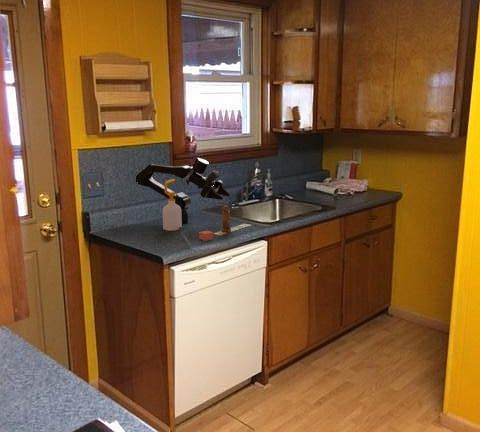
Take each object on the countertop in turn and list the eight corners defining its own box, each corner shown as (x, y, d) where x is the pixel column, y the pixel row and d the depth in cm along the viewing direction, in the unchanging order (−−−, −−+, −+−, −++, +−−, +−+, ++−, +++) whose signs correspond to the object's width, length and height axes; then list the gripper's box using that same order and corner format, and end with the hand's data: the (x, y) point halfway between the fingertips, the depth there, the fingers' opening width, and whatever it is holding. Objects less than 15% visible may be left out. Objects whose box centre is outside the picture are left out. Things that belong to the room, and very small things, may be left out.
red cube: (204, 243, 231) (204, 234, 230) (199, 241, 234) (199, 231, 233) (213, 242, 233) (213, 232, 232) (207, 240, 237) (207, 230, 236)
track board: (224, 239, 238) (224, 236, 237) (206, 235, 244) (206, 232, 244) (257, 228, 258) (257, 225, 258) (240, 225, 264) (240, 222, 264)
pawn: (222, 232, 244) (222, 206, 242) (220, 230, 248) (220, 204, 246) (231, 231, 245) (231, 206, 243) (229, 229, 250) (229, 204, 247)
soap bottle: (183, 230, 255) (182, 180, 249) (165, 231, 251) (163, 181, 246) (179, 225, 263) (177, 177, 257) (161, 227, 260) (159, 178, 254)
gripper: (198, 169, 250) (225, 186, 246) (214, 165, 267) (239, 180, 264) (189, 189, 254) (216, 206, 250) (205, 183, 271) (230, 199, 267)
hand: (226, 197), depth 258 cm, fingers open, 9 cm apart
